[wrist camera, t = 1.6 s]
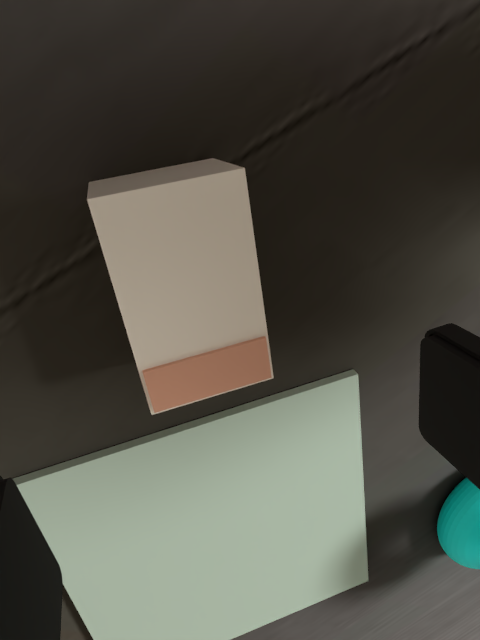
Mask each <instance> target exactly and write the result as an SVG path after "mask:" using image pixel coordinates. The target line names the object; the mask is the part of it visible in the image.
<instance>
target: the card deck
mask: <svg viewBox="0 0 480 640" xmlns="http://www.w3.org/2000/svg"><path fill="white" fill-rule="evenodd" d="M87 201H88V205H89V208H90V211H91V215H92V218H93V221H94V225H95V228H96V231H97V235H98V238H99V241H100V245H101V248H102V251H103V255H104V258H105V261H106V265H107V268H108V271H109V275H110V278H111V281H112V285H113V288H114V291H115V295H116V298H117V301H118V305H119V308H120V311H121V315H122V318H123V321H124V325H125V328H126V331H127V335H128V338H129V341H130V345H131V348H132V352H133V355H134V358H135V362H136V365H137V368H138V372H139V375H140V378H141V382H142V385H143V388H144V392H145V395H146V398H147V402H148V405H149V408H150V412H151V415H154V414H157V413H160V412H164V411H167V410H170V409H173V408H177V407H180V406H183V405H187V404H190V403H193V402H197V401H200V400H203V399H207V398H210V397H213V396H216V395H220V394H223V393H226V392H230V391H233V390H236V389H240V388H243V387H246V386H249V385H253V384H256V383H259V382H263V381H266V380H269V379H273V378H274V376H273V369H272V362H271V354H270V347H269V340H268V333H267V325H266V318H265V311H264V304H263V296H262V289H261V282H260V275H259V267H258V260H257V253H256V246H255V238H254V231H253V224H252V216H251V209H250V202H249V195H248V187H247V180H246V173H245V168H244V167H240V166H237V165H234V164H230V163H227V162H224V161H221V160H217V159H214V158H211V159H206V160H200V161H195V162H190V163H185V164H180V165H175V166H169V167H164V168H159V169H154V170H149V171H143V172H138V173H133V174H128V175H123V176H117V177H112V178H107V179H102V180H97V181H91V182H89V184H88V194H87Z"/></svg>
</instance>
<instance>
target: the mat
mask: <svg viewBox="0 0 480 640" xmlns="http://www.w3.org/2000/svg"><path fill="white" fill-rule="evenodd" d="M13 480H14V482H15V483H16V485H17V487H18V489H19V491H20V493H21V495H22V497H23V498H24V500H25V502H26V504H27V506H28V508H29V510H30V511H31V513H32V515H33V517H34V519H35V521H36V523H37V524H38V526H39V528H40V530H41V532H42V534H43V536H44V538H45V539H46V541H47V543H48V545H49V547H50V549H51V551H52V552H53V554H54V556H55V558H56V560H57V562H58V564H59V566H60V569H61V573H62V581H63V585H64V587H65V589H66V591H67V592H68V594H69V596H70V598H71V600H72V601H73V603H74V605H75V607H76V609H77V611H78V612H79V614H80V616H81V618H82V620H83V621H84V623H85V625H86V627H87V629H88V631H89V632H90V634H91V636H92V638H93V640H230V639H233V638H235V637H238V636H240V635H242V634H245V633H247V632H249V631H252V630H254V629H256V628H259V627H261V626H263V625H266V624H268V623H270V622H273V621H275V620H277V619H280V618H282V617H284V616H287V615H289V614H292V613H294V612H296V611H299V610H301V609H303V608H306V607H308V606H310V605H313V604H315V603H317V602H320V601H322V600H324V599H327V598H329V597H331V596H334V595H336V594H338V593H341V592H343V591H346V590H348V589H350V588H353V587H355V586H357V585H360V584H362V583H364V582H367V581H368V562H367V542H366V522H365V502H364V482H363V462H362V442H361V422H360V402H359V382H358V374H357V373H356V372H355V371H354V370H353V369H352V370H349V371H346V372H343V373H340V374H336V375H333V376H330V377H327V378H324V379H321V380H318V381H315V382H312V383H309V384H305V385H302V386H299V387H296V388H293V389H290V390H287V391H284V392H281V393H277V394H274V395H271V396H268V397H265V398H262V399H259V400H256V401H253V402H249V403H246V404H243V405H240V406H237V407H234V408H231V409H228V410H225V411H221V412H218V413H215V414H212V415H209V416H206V417H203V418H200V419H197V420H194V421H190V422H187V423H184V424H181V425H178V426H175V427H172V428H169V429H166V430H162V431H159V432H156V433H153V434H150V435H147V436H144V437H141V438H138V439H134V440H131V441H128V442H125V443H122V444H119V445H116V446H113V447H110V448H107V449H103V450H100V451H97V452H94V453H91V454H88V455H85V456H82V457H79V458H75V459H72V460H69V461H66V462H63V463H60V464H57V465H54V466H51V467H47V468H44V469H41V470H38V471H35V472H32V473H29V474H26V475H23V476H20V477H16V478H13Z"/></svg>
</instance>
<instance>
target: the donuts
mask: <svg viewBox="0 0 480 640" xmlns="http://www.w3.org/2000/svg"><path fill="white" fill-rule="evenodd" d="M437 534H438V539H439V542H440V544H441V546H442V548H443V550H444V551H445V553H446V554H447V555H448V556H449V557H450V558H451V559H452V560H454V561H455V562H457V563H458V564H460V565H462V566H465V567H469V568H473V569H480V490H479V489H478V488H477V487H476V486H475V485H474V484H473V483H472V482H471V481H470V480H469V479H467V478H465V479H464V480H462V481H461V482H460V483H459V484H458V485H457V486H456V487H455V488H454V489H453V491H452V492H451V493H450V494H449V496H448V497H447V499H446V501H445V502H444V504H443V506H442V508H441V511H440V514H439V517H438V523H437Z"/></svg>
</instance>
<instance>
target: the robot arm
mask: <svg viewBox="0 0 480 640" xmlns="http://www.w3.org/2000/svg"><path fill="white" fill-rule="evenodd" d="M419 429H420V432H421V434H422V436H423V438H424V439H425V440H426V441H427V442H428V443H429V444H430V445H431V446H432V447H434V448H435V449H436V450H437V451H438V452H439V453H440V454H441V455H442V456H443V457H444V458H446V459H447V460H448V461H449V462H450V463H451V464H452V465H453V466H454V467H455V468H456V469H458V470H459V471H460V472H461V473H462V474H463V475H464V476H465V477H466V478H467V479H469V480H470V481H471V482H472V483H473V484H474V485H475V486H476V487H477V488H478V489H479V490H480V337H478V336H476V335H474V334H472V333H470V332H469V331H467V330H465V329H463V328H461V327H459V326H457V325H455V324H452V323H451V324H446V325H443V326H440V327H437V328H434V329H431V330H429V331H427V332H426V334H425V338H424V339H422V341H421V348H420V393H419ZM62 586H63V581H62V573H61V569H60V566H59V564H58V562H57V560H56V558H55V556H54V554H53V552H52V551H51V549H50V547H49V545H48V543H47V541H46V539H45V538H44V536H43V534H42V532H41V530H40V528H39V526H38V524H37V523H36V521H35V519H34V517H33V515H32V513H31V511H30V510H29V508H28V506H27V504H26V502H25V500H24V498H23V497H22V495H21V493H20V491H19V489H18V487H17V485H16V483H15V482H14V480H13V479H12V478H7V479H4V480H3V478H2V477H1V476H0V640H60V631H61V609H62Z"/></svg>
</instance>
